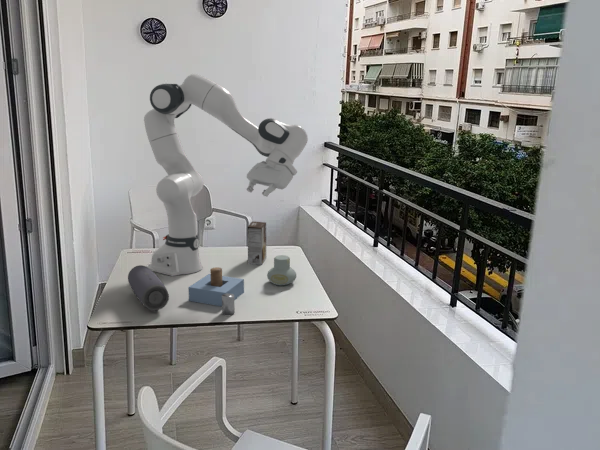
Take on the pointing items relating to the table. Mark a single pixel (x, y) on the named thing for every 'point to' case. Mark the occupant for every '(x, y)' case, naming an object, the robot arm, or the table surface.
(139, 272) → the bluetooth speaker
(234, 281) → the collar block
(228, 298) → the short pin
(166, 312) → the table surface
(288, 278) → the air freshener
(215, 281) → the long pin
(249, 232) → the coffee box
